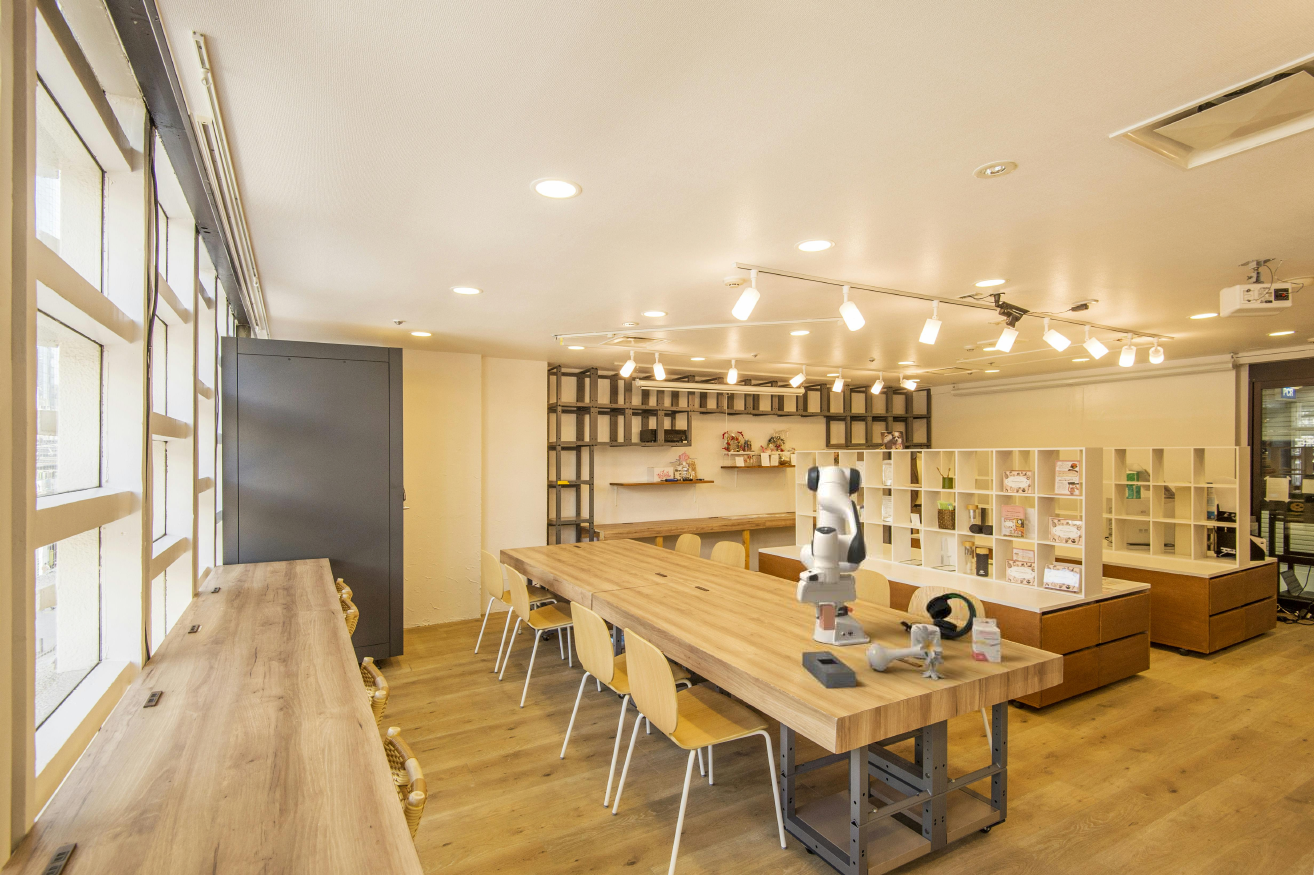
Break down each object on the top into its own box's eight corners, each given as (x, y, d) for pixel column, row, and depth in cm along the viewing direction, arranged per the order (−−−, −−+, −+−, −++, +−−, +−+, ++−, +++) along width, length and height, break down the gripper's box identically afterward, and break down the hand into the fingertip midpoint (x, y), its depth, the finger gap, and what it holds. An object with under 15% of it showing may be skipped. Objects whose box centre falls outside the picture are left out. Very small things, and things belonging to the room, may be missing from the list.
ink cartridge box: (975, 661, 227) (974, 620, 227) (972, 656, 232) (971, 617, 232) (1001, 662, 225) (1000, 622, 225) (997, 658, 230) (996, 618, 230)
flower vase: (876, 693, 213) (953, 683, 205) (861, 644, 212) (937, 631, 204) (875, 674, 225) (947, 664, 217) (860, 627, 224) (932, 615, 216)
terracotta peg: (830, 626, 214) (830, 603, 215) (835, 630, 210) (834, 606, 211) (819, 627, 214) (819, 604, 214) (823, 630, 210) (823, 606, 210)
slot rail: (829, 664, 223) (828, 651, 223) (855, 686, 201) (855, 672, 202) (802, 665, 222) (802, 652, 222) (826, 688, 200) (826, 673, 200)
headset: (922, 652, 264) (986, 632, 246) (902, 643, 258) (967, 622, 240) (913, 613, 276) (973, 591, 258) (894, 603, 270) (954, 580, 252)
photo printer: (940, 657, 231) (939, 624, 232) (941, 660, 227) (941, 627, 228) (910, 654, 234) (909, 621, 235) (911, 658, 230) (911, 624, 231)
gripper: (851, 572, 217) (851, 611, 217) (795, 573, 215) (795, 613, 214) (859, 575, 211) (859, 616, 210) (801, 577, 209) (802, 618, 208)
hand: (826, 615), depth 212 cm, fingers closed on terracotta peg, 4 cm apart
